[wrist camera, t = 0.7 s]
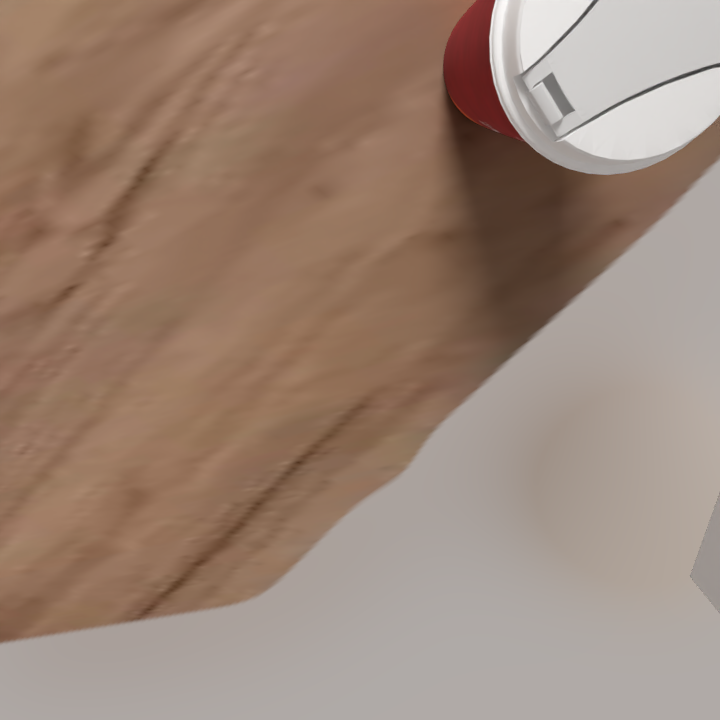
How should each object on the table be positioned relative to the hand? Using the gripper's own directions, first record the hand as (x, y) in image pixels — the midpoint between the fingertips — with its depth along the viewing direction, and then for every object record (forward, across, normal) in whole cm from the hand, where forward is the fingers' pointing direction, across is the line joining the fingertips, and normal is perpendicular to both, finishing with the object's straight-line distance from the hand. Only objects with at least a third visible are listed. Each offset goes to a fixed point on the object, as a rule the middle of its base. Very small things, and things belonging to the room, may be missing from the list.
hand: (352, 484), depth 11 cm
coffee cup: (+26, +8, +9) cm, 29 cm away
